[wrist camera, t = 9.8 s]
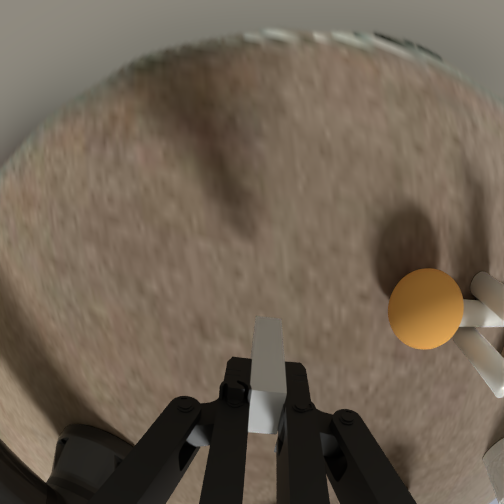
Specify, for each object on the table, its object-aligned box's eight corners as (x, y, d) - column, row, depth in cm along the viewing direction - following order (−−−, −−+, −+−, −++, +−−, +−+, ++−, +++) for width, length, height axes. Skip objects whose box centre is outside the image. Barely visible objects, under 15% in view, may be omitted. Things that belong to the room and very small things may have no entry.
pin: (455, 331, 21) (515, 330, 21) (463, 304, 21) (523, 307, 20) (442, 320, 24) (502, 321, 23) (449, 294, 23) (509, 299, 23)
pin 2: (449, 343, 24) (490, 399, 16) (457, 321, 24) (504, 374, 16) (466, 343, 24) (509, 395, 16) (475, 321, 24) (522, 371, 15)
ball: (445, 335, 22) (381, 327, 25) (459, 266, 21) (392, 258, 24) (459, 366, 17) (380, 358, 19) (481, 282, 16) (397, 272, 18)
